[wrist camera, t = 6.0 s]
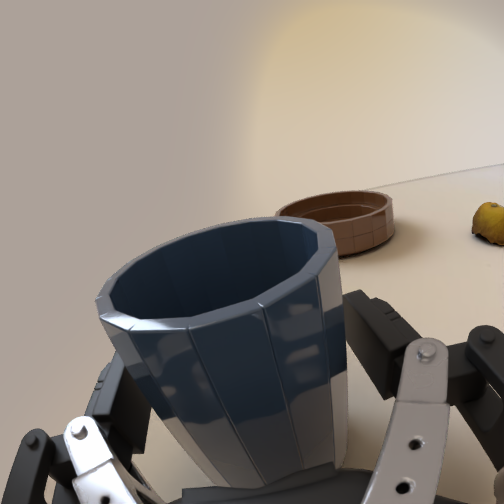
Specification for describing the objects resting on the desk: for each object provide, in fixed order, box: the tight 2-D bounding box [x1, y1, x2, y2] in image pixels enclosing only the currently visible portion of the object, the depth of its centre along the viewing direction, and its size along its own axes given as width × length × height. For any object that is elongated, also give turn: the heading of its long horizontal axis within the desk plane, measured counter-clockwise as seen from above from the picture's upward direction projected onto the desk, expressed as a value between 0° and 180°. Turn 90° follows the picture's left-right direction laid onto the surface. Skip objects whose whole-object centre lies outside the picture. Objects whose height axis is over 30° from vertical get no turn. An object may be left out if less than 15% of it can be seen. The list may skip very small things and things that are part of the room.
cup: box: [95, 216, 348, 489], centre depth 10 cm, size 7×7×10 cm
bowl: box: [275, 191, 394, 257], centre depth 34 cm, size 14×14×4 cm
